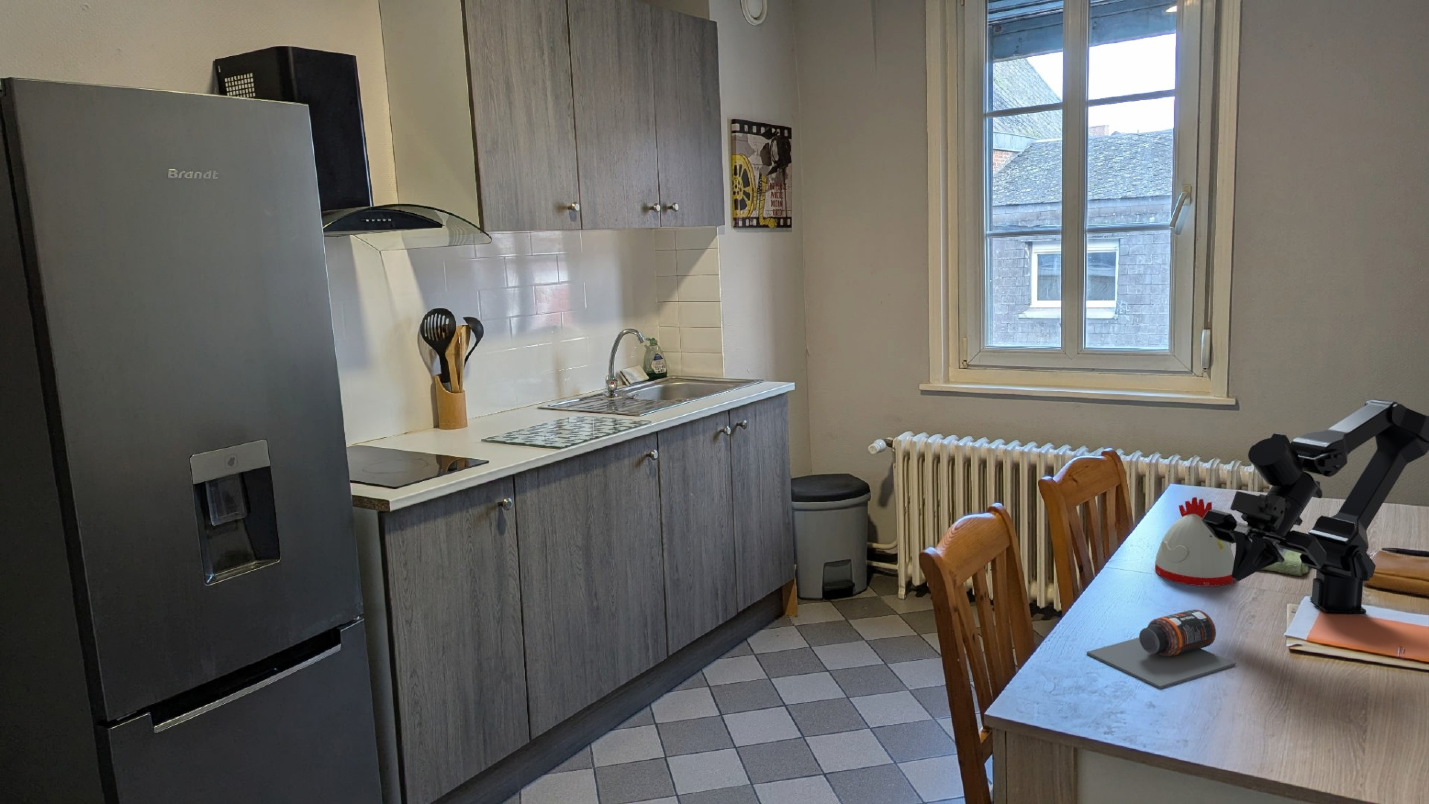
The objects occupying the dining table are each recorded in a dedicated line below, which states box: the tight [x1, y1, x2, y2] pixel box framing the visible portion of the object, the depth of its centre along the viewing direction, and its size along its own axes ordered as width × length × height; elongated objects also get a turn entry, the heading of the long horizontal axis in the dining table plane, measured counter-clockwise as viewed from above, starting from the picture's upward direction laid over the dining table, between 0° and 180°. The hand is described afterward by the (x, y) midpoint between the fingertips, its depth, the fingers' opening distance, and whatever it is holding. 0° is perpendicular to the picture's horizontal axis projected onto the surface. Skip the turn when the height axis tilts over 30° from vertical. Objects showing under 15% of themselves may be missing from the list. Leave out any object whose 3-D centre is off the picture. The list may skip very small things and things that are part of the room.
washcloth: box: [1260, 550, 1309, 577], centre depth 197 cm, size 13×18×3 cm
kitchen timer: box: [1154, 496, 1235, 587], centre depth 190 cm, size 14×14×15 cm
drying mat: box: [1086, 637, 1236, 690], centre depth 154 cm, size 16×14×1 cm
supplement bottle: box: [1138, 609, 1217, 657], centre depth 155 cm, size 6×6×11 cm
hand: (1234, 579), depth 160 cm, fingers closed
